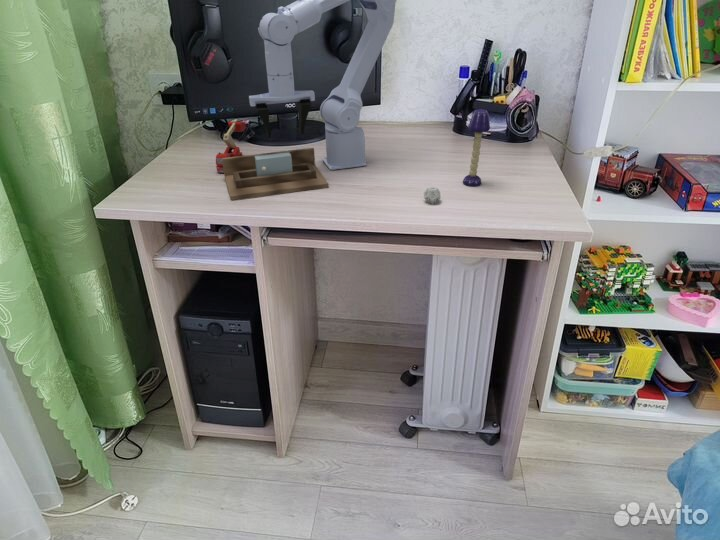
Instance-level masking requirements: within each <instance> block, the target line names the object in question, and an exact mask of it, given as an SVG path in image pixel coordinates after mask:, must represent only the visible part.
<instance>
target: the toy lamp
mask: <svg viewBox="0 0 720 540" xmlns="http://www.w3.org/2000/svg"><path fill="white" fill-rule="evenodd" d="M490 124H491V123H490V117H489V111H488V110H486V109H483V108H481V109H479V108H478V109H475V110H474V111H473V113H472V115H471V119H470V120H469V124H468V126H467V127H468V130H469V131H471V132H473V134H474V137H473V144H472V151H471V159H470V162H471V163H470V165H469V168H470V169H469V172H468V173H469V174H467V175H466V176H465V177H463V180H462V183H463V185H465V186H468V187H480V186H481V185H482V178H481V177H480V176H479V175H477V174H478V171H477V169H478V167H479V161H480V157H479V156H481V155H480V154H481V151H480V150H481V147H482V146H481V145H482V144H481V143H482V136H483V133H487V132H489V131H490V129H491V126H490Z"/></svg>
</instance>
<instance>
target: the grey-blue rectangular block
mask: <svg viewBox="0 0 720 540" xmlns="http://www.w3.org/2000/svg"><path fill="white" fill-rule="evenodd" d="M255 164H256V173H257V176H265V175H273V174H281V173H289V172H293V170H292V158H291V154H290V153H289V152H287V153H279V154H270V155H261V156H255Z"/></svg>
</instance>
